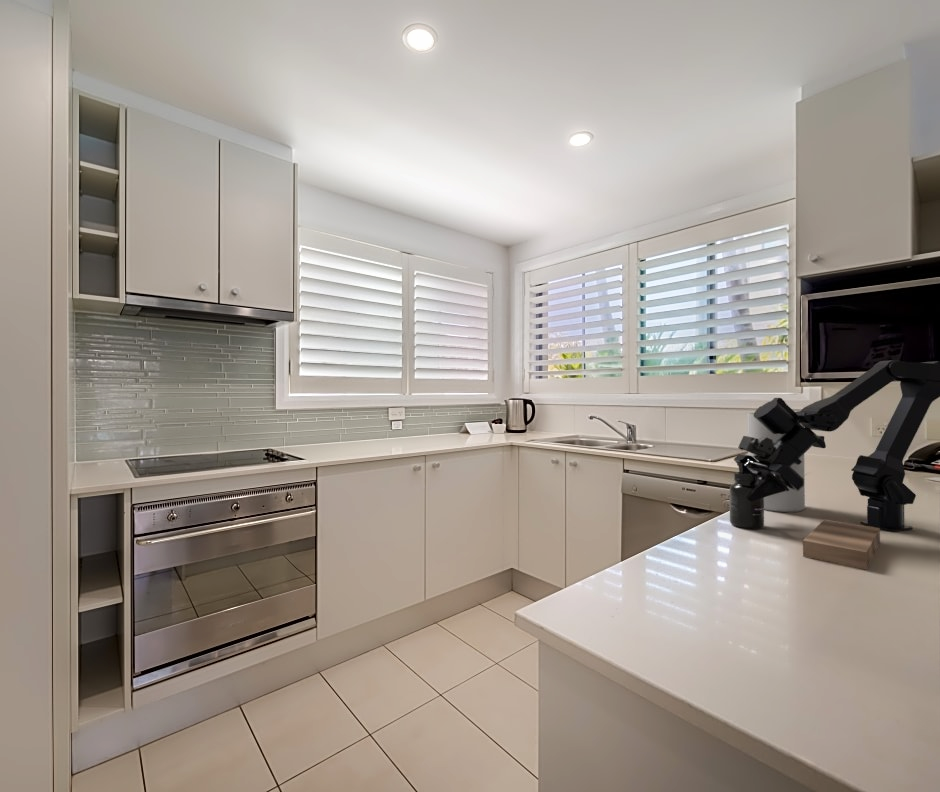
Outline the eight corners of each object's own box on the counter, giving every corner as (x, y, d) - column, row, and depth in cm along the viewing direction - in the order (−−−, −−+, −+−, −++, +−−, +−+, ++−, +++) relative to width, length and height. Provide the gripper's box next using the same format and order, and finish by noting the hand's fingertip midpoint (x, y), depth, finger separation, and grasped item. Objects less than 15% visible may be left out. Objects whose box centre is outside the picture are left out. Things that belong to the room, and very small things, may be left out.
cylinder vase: (755, 511, 118) (754, 414, 118) (743, 500, 129) (742, 412, 129) (812, 514, 114) (811, 414, 114) (794, 503, 126) (793, 412, 125)
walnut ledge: (824, 533, 98) (824, 519, 98) (879, 542, 92) (879, 528, 92) (803, 556, 85) (802, 540, 85) (866, 569, 78) (866, 552, 78)
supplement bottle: (764, 531, 100) (763, 476, 100) (729, 527, 104) (728, 474, 104) (764, 523, 106) (763, 472, 106) (730, 519, 109) (729, 470, 109)
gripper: (741, 421, 114) (696, 465, 115) (788, 426, 95) (734, 479, 96) (774, 452, 113) (729, 496, 114) (828, 464, 95) (774, 516, 95)
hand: (740, 496), depth 105 cm, fingers closed on supplement bottle, 7 cm apart
